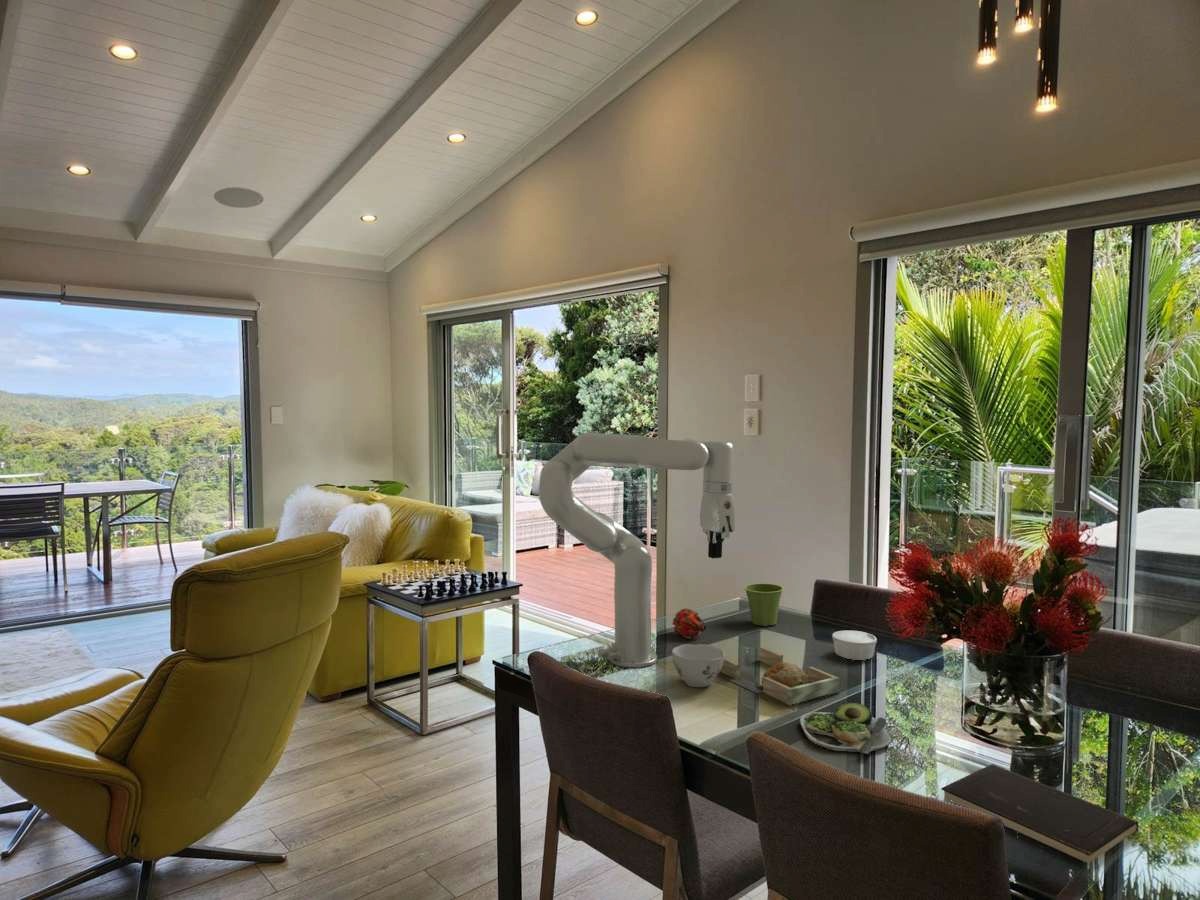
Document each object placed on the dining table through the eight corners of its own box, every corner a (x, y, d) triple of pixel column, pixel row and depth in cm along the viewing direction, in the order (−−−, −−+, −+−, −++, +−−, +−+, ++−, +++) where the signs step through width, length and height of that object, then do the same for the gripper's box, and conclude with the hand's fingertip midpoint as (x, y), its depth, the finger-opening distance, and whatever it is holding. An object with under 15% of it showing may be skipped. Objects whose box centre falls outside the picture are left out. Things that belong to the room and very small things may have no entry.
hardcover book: (1089, 869, 110) (1089, 853, 109) (941, 800, 129) (941, 787, 129) (1138, 834, 118) (1139, 819, 118) (993, 775, 138) (993, 762, 137)
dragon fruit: (680, 634, 228) (699, 652, 217) (660, 621, 224) (678, 638, 213) (697, 611, 228) (716, 627, 217) (677, 597, 225) (696, 613, 214)
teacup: (734, 688, 180) (734, 654, 179) (688, 696, 175) (688, 662, 174) (701, 668, 194) (701, 637, 193) (658, 675, 189) (657, 643, 188)
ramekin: (882, 662, 197) (882, 642, 197) (839, 662, 197) (839, 642, 197) (868, 649, 208) (868, 630, 208) (827, 649, 208) (827, 630, 208)
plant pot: (760, 616, 241) (760, 581, 241) (791, 624, 232) (791, 587, 232) (735, 623, 234) (736, 587, 233) (767, 631, 225) (767, 594, 224)
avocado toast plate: (909, 763, 142) (910, 739, 142) (811, 760, 144) (812, 736, 143) (881, 721, 161) (881, 699, 161) (795, 718, 163) (795, 697, 163)
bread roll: (790, 714, 173) (805, 686, 171) (752, 687, 178) (766, 659, 176) (805, 700, 181) (819, 673, 179) (768, 674, 186) (781, 648, 184)
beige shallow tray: (783, 707, 168) (783, 691, 168) (709, 670, 192) (709, 657, 192) (845, 691, 177) (845, 676, 177) (767, 658, 201) (767, 645, 201)
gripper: (746, 490, 194) (743, 562, 195) (713, 485, 208) (710, 551, 209) (721, 491, 191) (719, 563, 192) (689, 485, 205) (687, 553, 206)
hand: (714, 557), depth 201 cm, fingers closed
